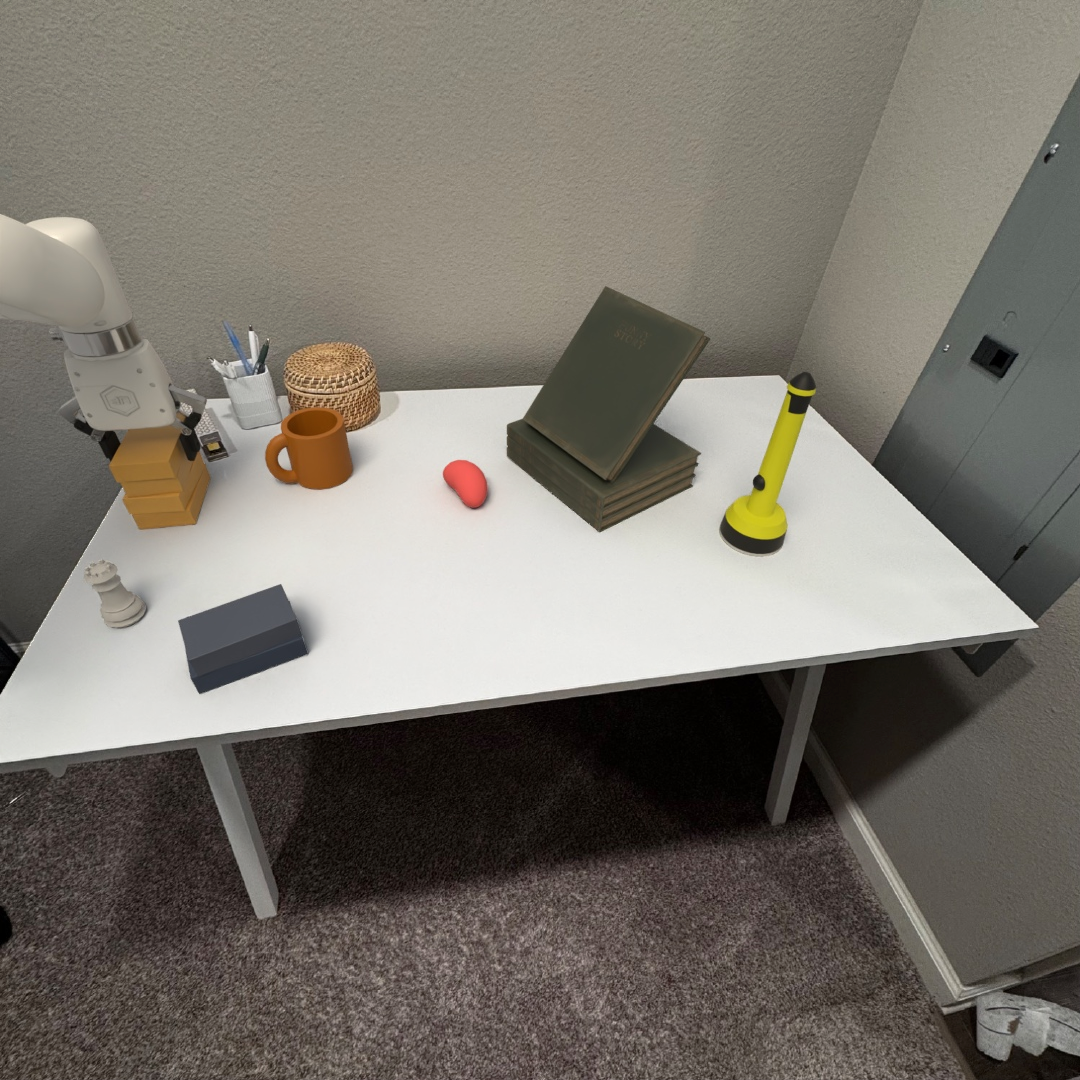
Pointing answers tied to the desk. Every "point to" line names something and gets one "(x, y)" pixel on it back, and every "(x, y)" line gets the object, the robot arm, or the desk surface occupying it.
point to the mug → (312, 449)
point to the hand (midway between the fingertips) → (157, 458)
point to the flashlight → (769, 481)
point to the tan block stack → (169, 496)
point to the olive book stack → (611, 414)
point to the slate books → (241, 638)
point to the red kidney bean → (466, 482)
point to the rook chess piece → (114, 595)
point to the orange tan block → (148, 455)
